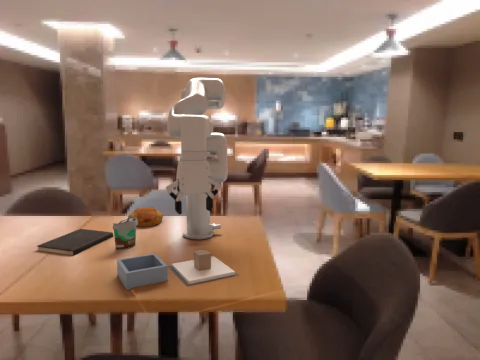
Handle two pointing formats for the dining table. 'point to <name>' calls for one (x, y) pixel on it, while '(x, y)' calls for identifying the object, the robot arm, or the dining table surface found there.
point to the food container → (125, 233)
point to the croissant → (147, 216)
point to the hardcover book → (75, 241)
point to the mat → (198, 282)
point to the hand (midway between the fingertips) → (194, 211)
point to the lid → (202, 268)
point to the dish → (141, 270)
